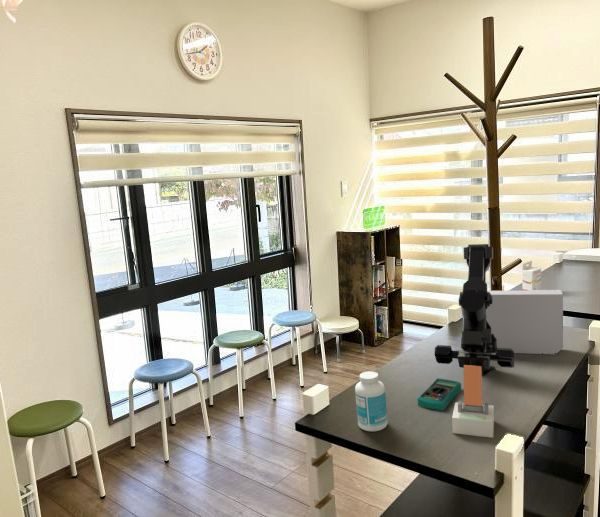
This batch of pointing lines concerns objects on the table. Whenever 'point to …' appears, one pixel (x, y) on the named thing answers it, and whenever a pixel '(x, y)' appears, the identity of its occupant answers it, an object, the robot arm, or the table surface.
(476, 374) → the lever
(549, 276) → the table surface
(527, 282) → the ink cartridge box
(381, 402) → the pill bottle
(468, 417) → the switch base
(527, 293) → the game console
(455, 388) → the digital multimeter
